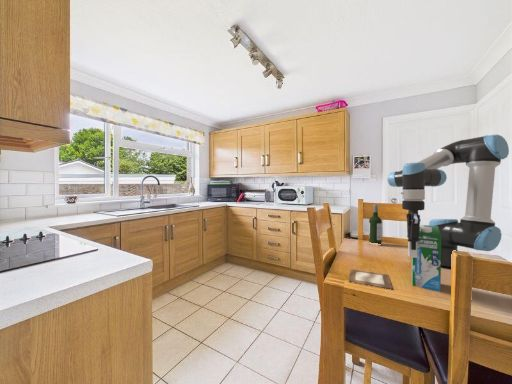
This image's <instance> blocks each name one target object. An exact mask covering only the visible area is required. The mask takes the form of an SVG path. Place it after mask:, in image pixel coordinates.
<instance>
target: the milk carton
mask: <svg viewBox="0 0 512 384" xmlns="http://www.w3.org/2000/svg"><path fill="white" fill-rule="evenodd" d="M441 272H442V265H441V234H440V231H439V228H438V226H429V224H428V225H427V224H420V227H419V241H417V258H413V257H411V285H412V287H416V288H421V289H426V290H431V291H436V292H441V285H442V284H441V282H442V281H441V280H442V279H441V278H442V277H441V275H442V274H441Z"/></svg>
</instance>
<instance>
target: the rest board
mask: <svg viewBox="0 0 512 384" xmlns="http://www.w3.org/2000/svg"><path fill="white" fill-rule="evenodd" d="M351 282H354V283H353V284H357V283H359V284H358V285H362V284H365V285H364V286H368V285H370V286H369V287H373V286H375V288H379V287H381V288H380V289H385V288H386V289H385V290H390V289H391V290H393V286H392V283H391V280H390V277H389V275H388V274H387V273H386V274H385V273H378V272H373V271H366V270H358V269H352V268H350V271H349V278H348V283H351Z"/></svg>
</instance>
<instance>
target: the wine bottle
mask: <svg viewBox="0 0 512 384" xmlns="http://www.w3.org/2000/svg"><path fill="white" fill-rule="evenodd" d="M378 207H379V206H378V204H373V207H372V208H373V211H372V216H371V217H370V218H369V219H368V233H369V234H368V243H369V242H371V243H378V244H381V243H382V236H383V235H382V233H383V232H382V231H383V230H382V229H383V227H382V226H383V224H382V223H383V221H382V218H381V217H380V216H379V213H378V212H379V211H378Z"/></svg>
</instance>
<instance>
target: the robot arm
mask: <svg viewBox="0 0 512 384" xmlns="http://www.w3.org/2000/svg"><path fill="white" fill-rule="evenodd" d="M509 152H510V149H509V144H508V142H507V140H506V138H504V137H503V136H502V135H500V134H491V135H486V134H485V135H483V136H478V137H473V138H467V139H461V140H458V141H457V140H456V141H454V142H452V143H448V144H447V145H445V146H443V147H441V148H439V149H437V150H435V151H434V152H433V153H432V154H431V155H429V156H427V157H425V158H423V159H421V160H420V161H417V162H409V163H404V164H403V166H402V169H401V170H399V171H392V172H390V173H389V174H388V175H387V183H388V185H389V186H390V187H394V188H395V187H396V188H402V192H400V194H401V195H402V205H401V209H403V210H405V211H408V212H407V213H406V216H405V218H406V227H407V229H406V231H407V232H406V233H407V236H406V237H407V242H408V243H407V244H408V246H407V248H408V251H407V252H408V254H407V255H408V257H409V258H412V257H413V258H417V241H419V227H420V225H421V215H420V214H419V211H424V210H425V201H424V200H425V199H426V198H425V197H426V190H425V187H431V188H432V187H435V188H436V187H440V186H442V185H443V184H445V183H446V182H447V179H448V177H447V174H446V172H445V171H444V170H442V169H440V168H441V167H448V166H450V165H453V164H464V163H465V166H466V167H468V169H469V171H468V181H467V182H468V183H467V191H466V200H465V202H466V203H465V213H464V216H463V217H461V218H460V219H459V220H460V221H458V219H457V218H438V219H437V218H436V219H431V220H430V219H429V220H430V221H429V223H428V226H438V228H439V231H440V234H441V267H451V254H452V251H453V250H456V251H458V247H463V248H466V249H471V250H472V249H473V250H476V251H484V252H490V251H491V252H492V251H493V250H495V249H496V248H497V247H498V246H499V245H500V243H501V240H502V231H501V229H500V228H499V227H498V226H496V222H495V221H494V220H493V219H492V210H493V209H492V208H493V198H494V196H493V195H494V186H495V177H496V176H495V172H496V168H497V167H498V166H500V165H501V162H502V160H505V159H507V158H508V156H509V154H510V153H509ZM458 252H459V251H458Z"/></svg>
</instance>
